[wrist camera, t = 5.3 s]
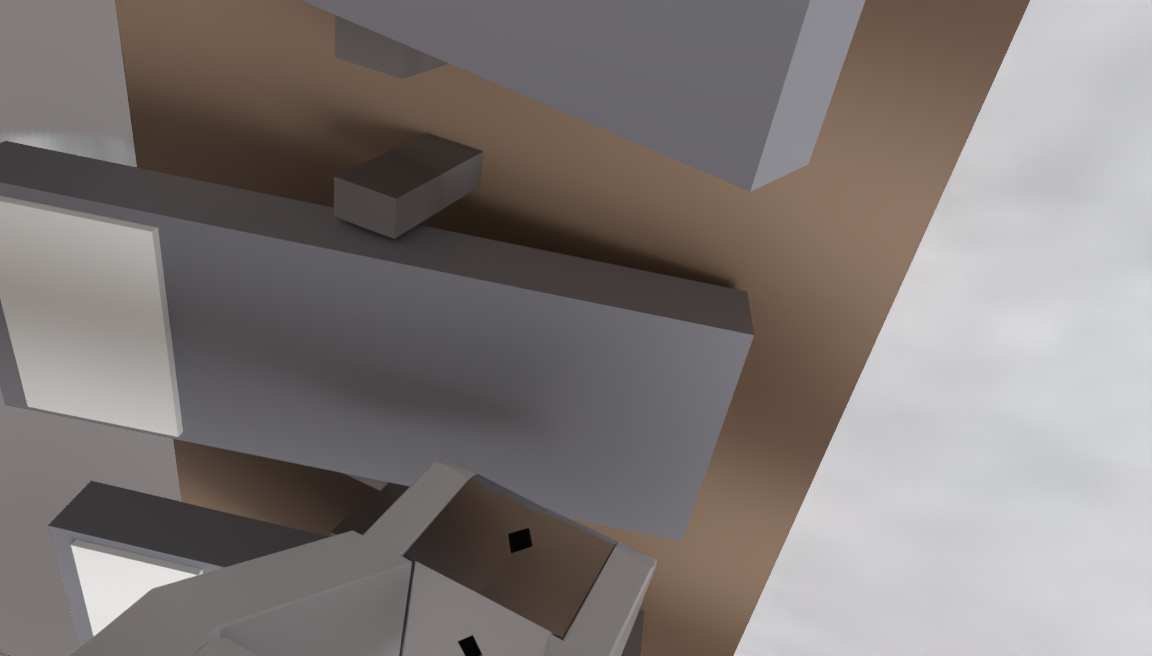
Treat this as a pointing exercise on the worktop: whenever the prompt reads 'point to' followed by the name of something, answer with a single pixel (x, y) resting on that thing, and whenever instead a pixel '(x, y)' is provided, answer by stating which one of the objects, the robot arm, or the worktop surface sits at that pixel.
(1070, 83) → the worktop surface
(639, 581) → the robot arm
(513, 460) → the rocker middle
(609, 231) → the switch unit
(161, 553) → the rocker
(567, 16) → the rocker
